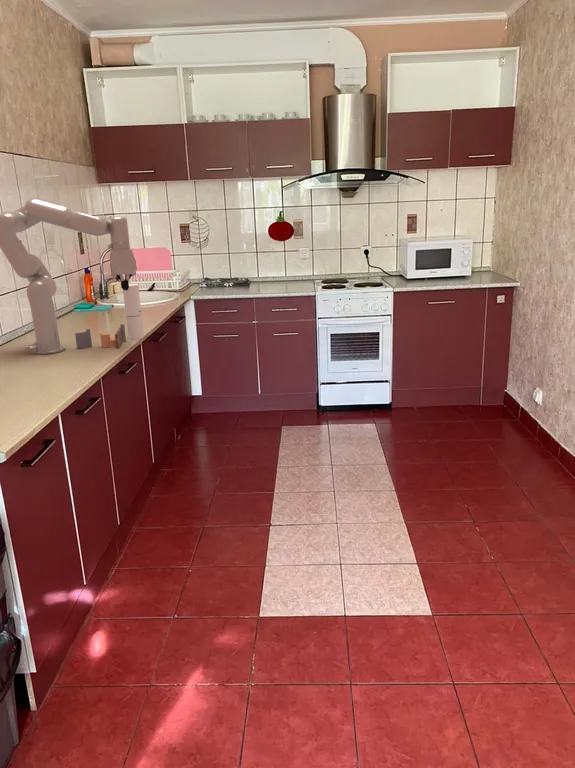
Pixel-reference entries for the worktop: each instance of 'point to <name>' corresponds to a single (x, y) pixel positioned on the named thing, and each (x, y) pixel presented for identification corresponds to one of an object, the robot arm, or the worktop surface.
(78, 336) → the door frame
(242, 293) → the worktop surface
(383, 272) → the worktop surface
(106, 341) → the orange l-shaped block
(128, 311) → the cylindrical container
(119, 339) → the door
